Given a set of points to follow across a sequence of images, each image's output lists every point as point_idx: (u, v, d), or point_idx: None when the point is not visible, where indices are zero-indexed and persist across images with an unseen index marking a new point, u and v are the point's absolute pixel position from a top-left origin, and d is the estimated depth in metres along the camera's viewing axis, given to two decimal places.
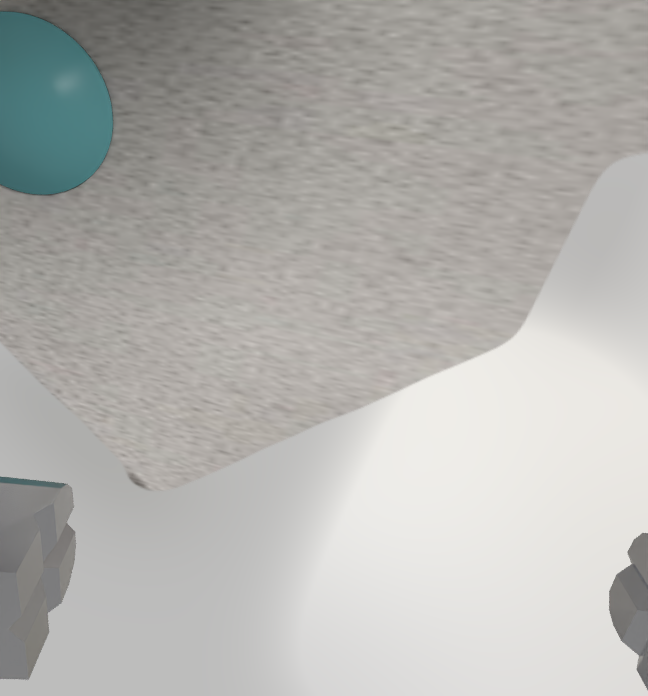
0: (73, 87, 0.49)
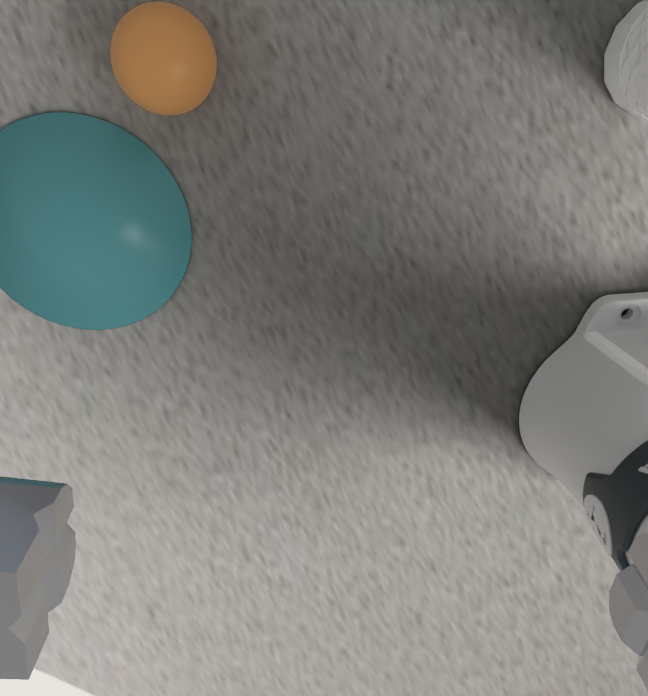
0: (136, 277, 0.40)
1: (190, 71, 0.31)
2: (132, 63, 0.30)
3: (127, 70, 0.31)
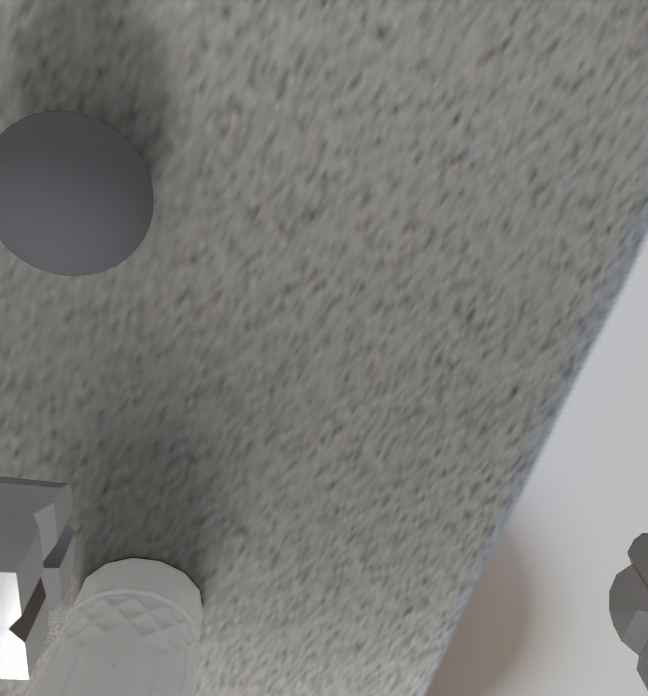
0: None
1: None
2: None
3: None
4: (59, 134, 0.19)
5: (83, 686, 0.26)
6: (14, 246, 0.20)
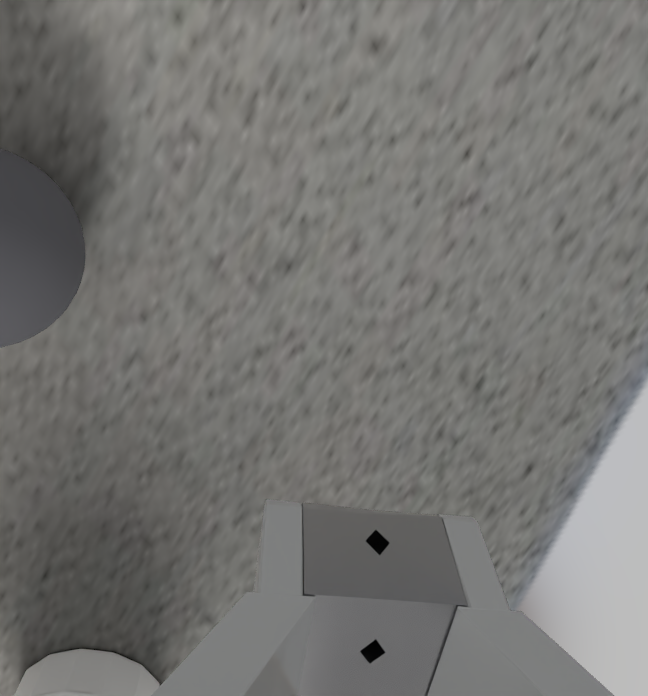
0: None
1: None
2: None
3: None
4: None
5: None
6: None
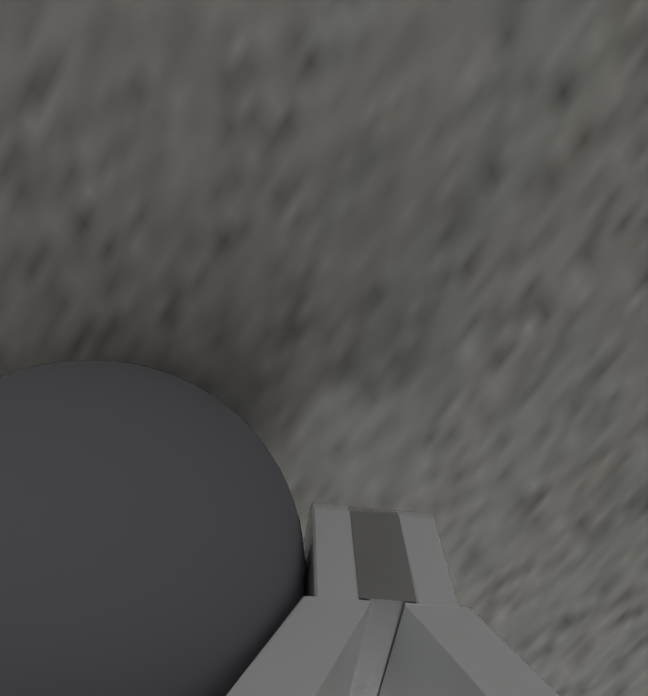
0: None
1: None
2: None
3: None
4: (24, 523, 0.05)
5: None
6: None
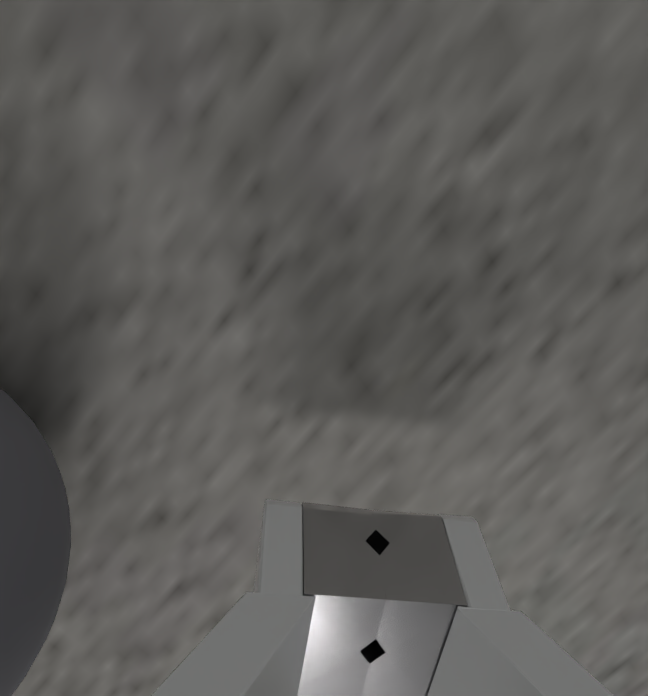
0: None
1: None
2: None
3: None
4: None
5: None
6: None
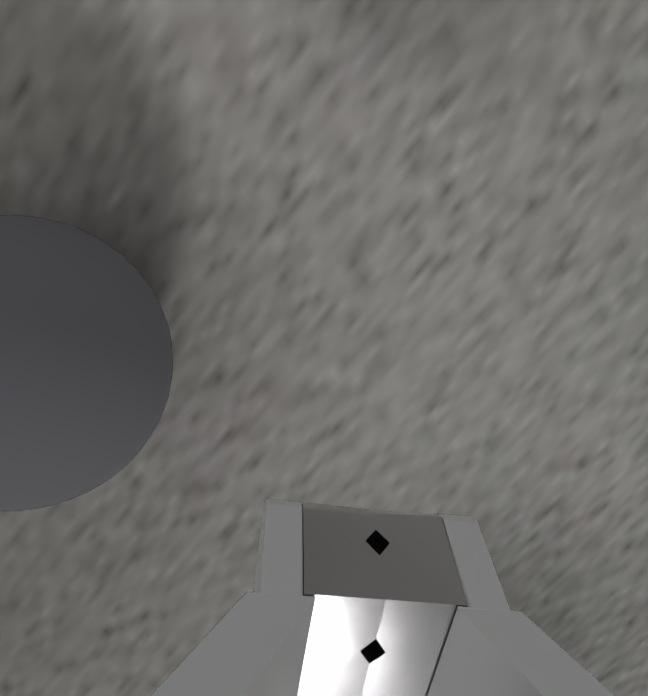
0: None
1: None
2: None
3: None
4: None
5: None
6: None
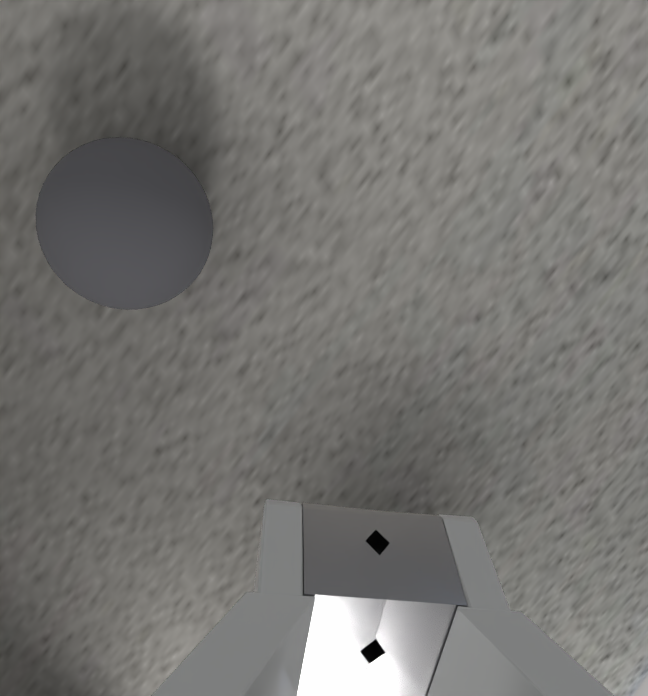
0: None
1: None
2: None
3: None
4: None
5: None
6: None
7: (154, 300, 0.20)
